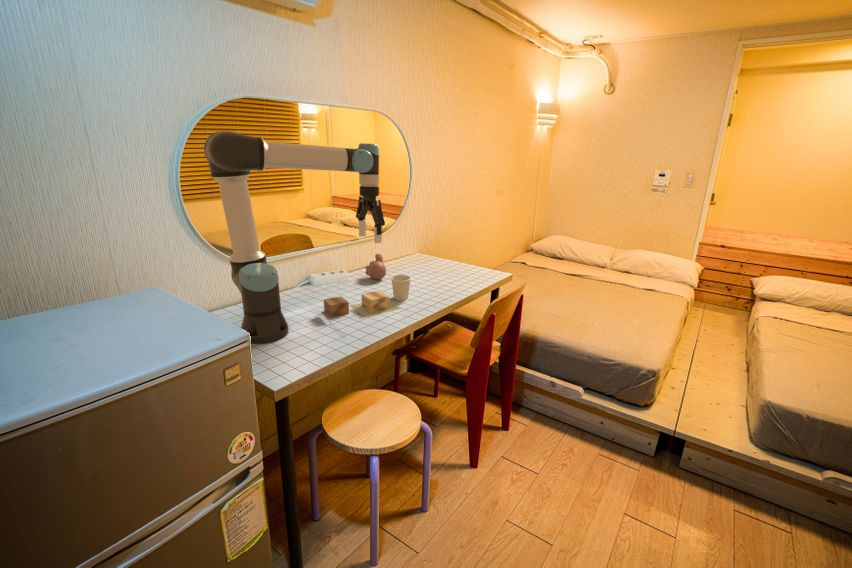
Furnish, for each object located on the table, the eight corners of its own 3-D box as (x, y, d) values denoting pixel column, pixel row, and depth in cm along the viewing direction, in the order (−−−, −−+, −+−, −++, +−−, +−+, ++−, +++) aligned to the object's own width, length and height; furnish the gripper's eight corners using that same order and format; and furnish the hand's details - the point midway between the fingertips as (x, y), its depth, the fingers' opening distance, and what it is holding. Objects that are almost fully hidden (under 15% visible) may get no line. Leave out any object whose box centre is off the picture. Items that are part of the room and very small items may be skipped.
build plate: (364, 319, 153) (364, 316, 153) (349, 308, 163) (349, 305, 163) (401, 311, 162) (401, 308, 162) (385, 301, 172) (385, 298, 172)
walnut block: (331, 320, 152) (330, 305, 151) (324, 314, 158) (323, 299, 156) (349, 316, 156) (348, 301, 154) (341, 310, 162) (341, 296, 160)
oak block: (371, 312, 157) (370, 300, 155) (361, 305, 163) (361, 293, 162) (389, 308, 161) (389, 296, 160) (379, 302, 168) (379, 290, 166)
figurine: (371, 274, 206) (371, 251, 202) (389, 278, 201) (389, 254, 197) (360, 279, 199) (359, 255, 195) (379, 283, 193) (378, 258, 190)
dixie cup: (392, 304, 169) (392, 281, 165) (389, 297, 176) (389, 275, 173) (412, 303, 170) (412, 280, 167) (409, 296, 178) (409, 274, 175)
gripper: (394, 188, 152) (393, 244, 158) (363, 182, 171) (364, 232, 178) (375, 189, 148) (376, 246, 154) (346, 182, 167) (348, 234, 174)
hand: (369, 239), depth 166 cm, fingers open, 13 cm apart
